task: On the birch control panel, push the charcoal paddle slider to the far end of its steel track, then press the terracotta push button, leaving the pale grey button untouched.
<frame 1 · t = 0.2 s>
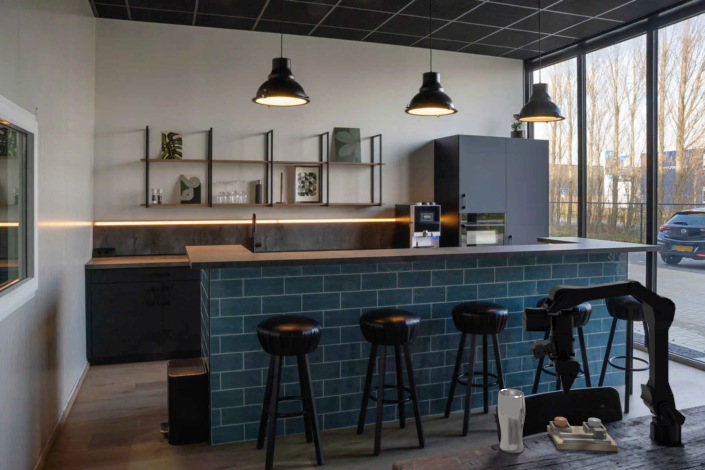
hand: (563, 388, 147), 14 cm above the table, tool pointing down, fingers open, 9 cm apart
paddle slider: (598, 434, 143), point 3 cm above the table, slide at 0.0 cm
beer glass: (511, 449, 143), on the table
grey button: (594, 422, 149), point 4 cm above the table, slide at 0.0 cm
terracotta button: (560, 421, 150), point 4 cm above the table, slide at 0.0 cm
control panel: (580, 440, 147), on the table
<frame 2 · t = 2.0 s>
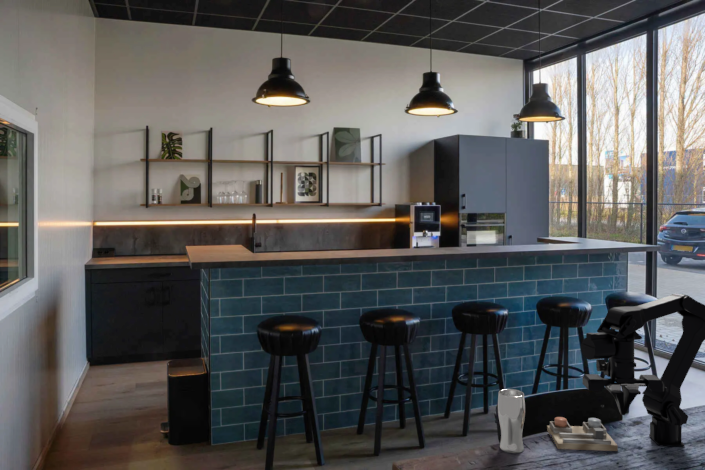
hand: (622, 414, 142), 9 cm above the table, tool pointing down, fingers closed
nothing on the table moved.
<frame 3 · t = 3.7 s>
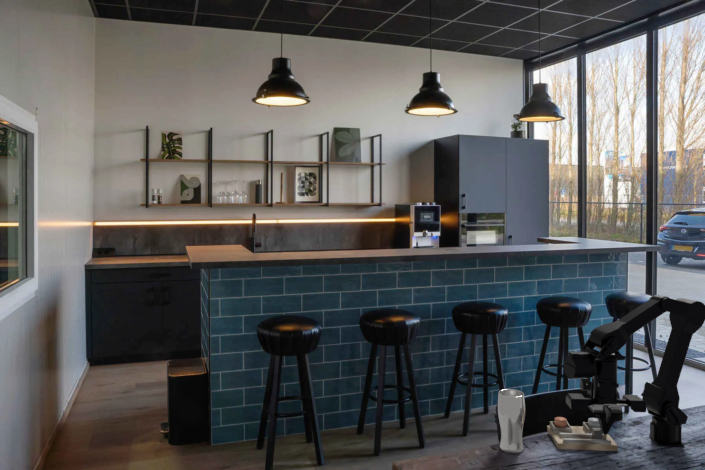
hand: (604, 434, 142), 3 cm above the table, tool pointing down, fingers closed
paddle slider: (597, 434, 143), point 3 cm above the table, slide at 0.3 cm, touching gripper
everything else where it was.
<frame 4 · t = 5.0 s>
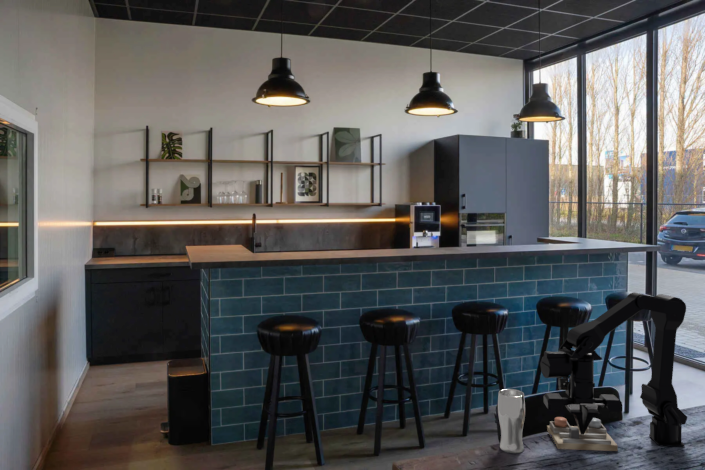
hand: (581, 433, 143), 3 cm above the table, tool pointing down, fingers closed
paddle slider: (574, 433, 143), point 3 cm above the table, slide at 6.2 cm, touching gripper
everything else where it was.
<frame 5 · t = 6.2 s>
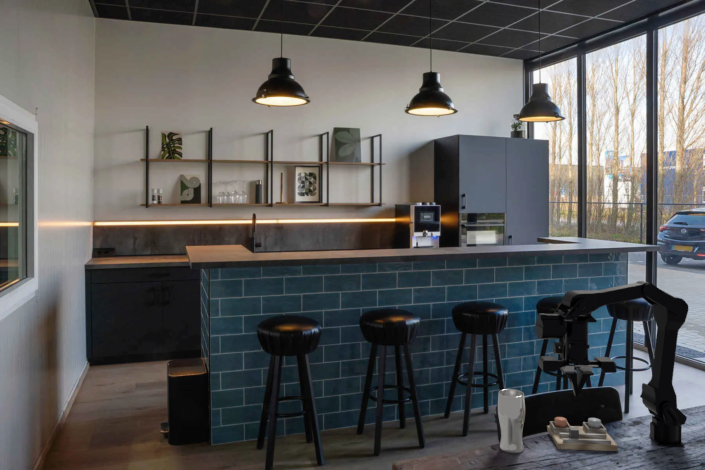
hand: (576, 395, 144), 13 cm above the table, tool pointing down, fingers closed
paddle slider: (573, 433, 143), point 3 cm above the table, slide at 6.3 cm
everything else where it was.
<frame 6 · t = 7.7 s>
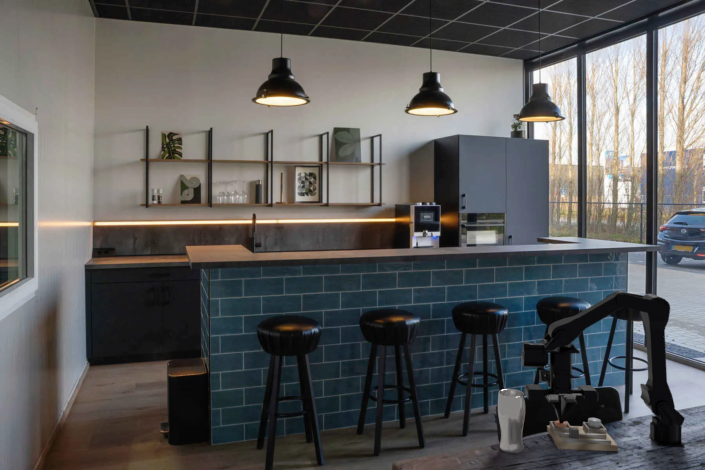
hand: (561, 422, 150), 4 cm above the table, tool pointing down, fingers closed, pressing on terracotta button
terracotta button: (560, 425, 150), point 3 cm above the table, slide at 1.0 cm, touching gripper
everything else where it was.
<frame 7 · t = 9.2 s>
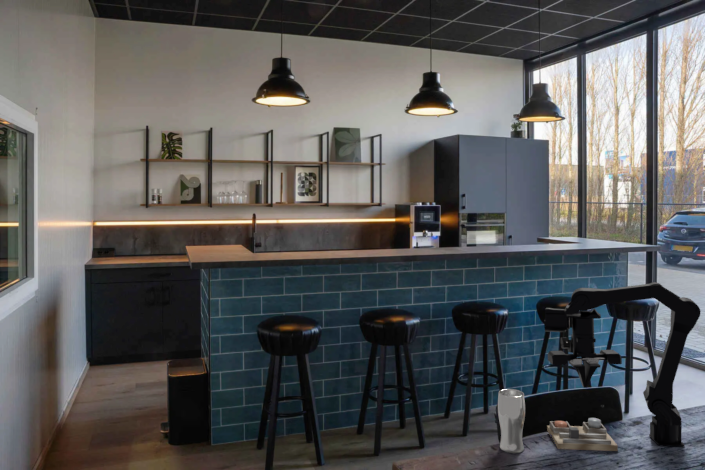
hand: (584, 387, 152), 13 cm above the table, tool pointing down, fingers closed
terracotta button: (560, 425, 150), point 3 cm above the table, slide at 1.1 cm
everything else where it was.
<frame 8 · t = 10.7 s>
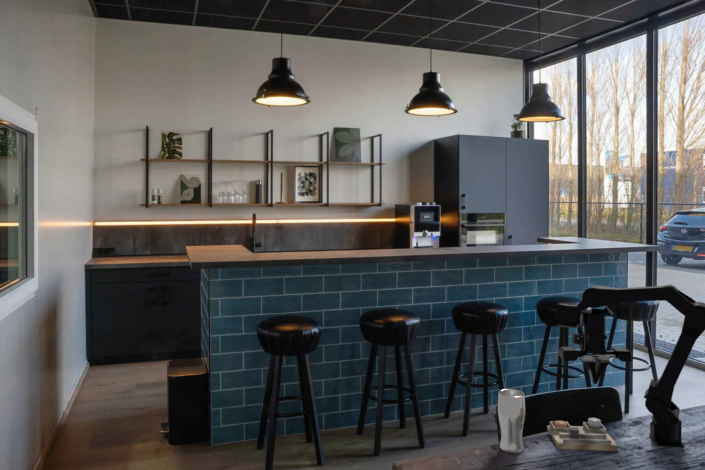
hand: (594, 383, 154), 13 cm above the table, tool pointing down, fingers closed
nothing on the table moved.
at the end: paddle slider slide at 6.3 cm; terracotta button slide at 1.1 cm; grey button slide at 0.0 cm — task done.
